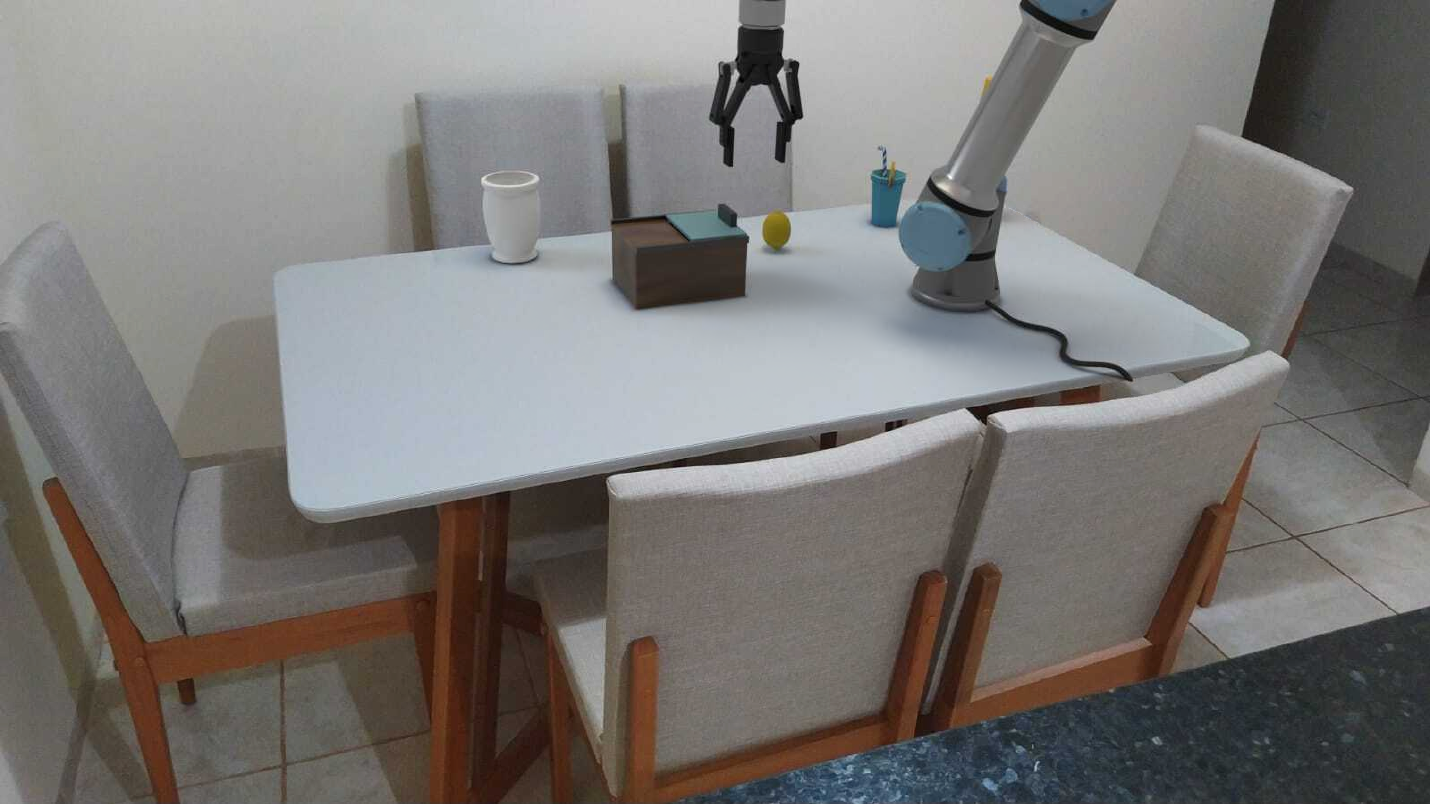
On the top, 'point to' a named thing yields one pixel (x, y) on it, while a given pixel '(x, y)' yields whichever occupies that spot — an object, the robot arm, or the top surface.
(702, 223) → the teal box lid
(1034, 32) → the robot arm
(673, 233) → the chest
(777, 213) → the lemon
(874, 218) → the cup
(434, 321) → the top surface
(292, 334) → the top surface
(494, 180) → the jar
